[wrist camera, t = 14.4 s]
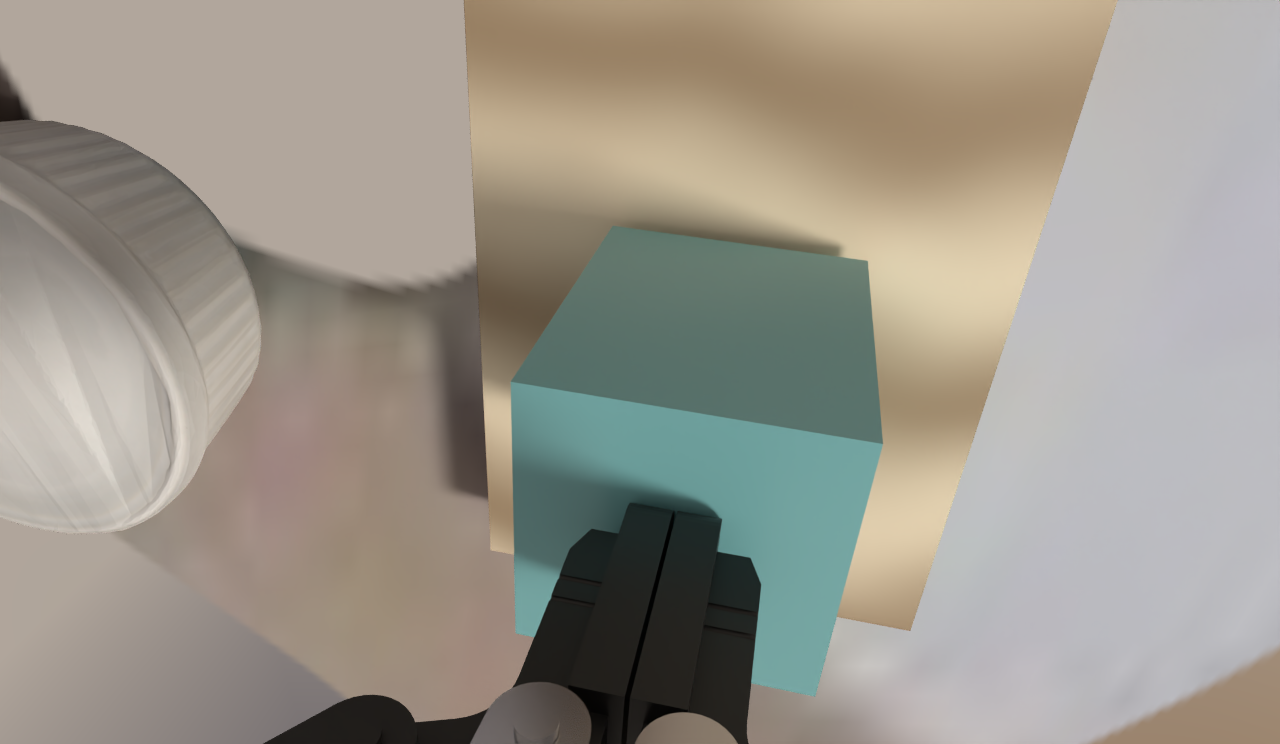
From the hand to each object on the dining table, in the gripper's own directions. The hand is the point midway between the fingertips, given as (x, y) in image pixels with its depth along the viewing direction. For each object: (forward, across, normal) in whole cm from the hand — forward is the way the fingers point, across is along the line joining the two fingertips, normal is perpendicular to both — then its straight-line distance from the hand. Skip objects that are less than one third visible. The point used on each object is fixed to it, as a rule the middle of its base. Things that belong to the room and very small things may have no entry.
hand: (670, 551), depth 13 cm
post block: (+9, 0, 0) cm, 9 cm away
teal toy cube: (+7, 0, 0) cm, 7 cm away
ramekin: (+10, +18, +2) cm, 20 cm away
